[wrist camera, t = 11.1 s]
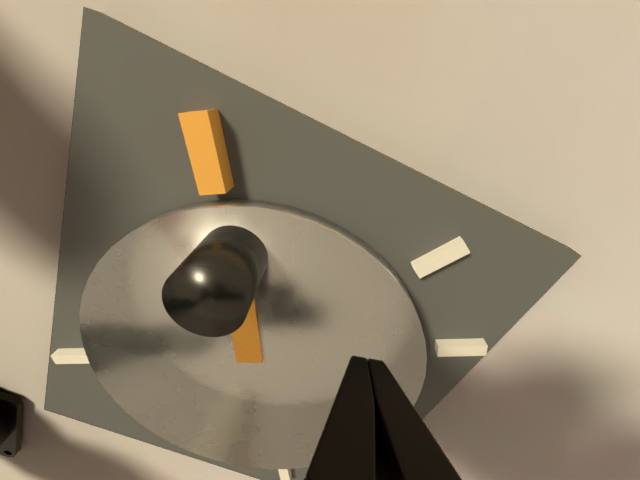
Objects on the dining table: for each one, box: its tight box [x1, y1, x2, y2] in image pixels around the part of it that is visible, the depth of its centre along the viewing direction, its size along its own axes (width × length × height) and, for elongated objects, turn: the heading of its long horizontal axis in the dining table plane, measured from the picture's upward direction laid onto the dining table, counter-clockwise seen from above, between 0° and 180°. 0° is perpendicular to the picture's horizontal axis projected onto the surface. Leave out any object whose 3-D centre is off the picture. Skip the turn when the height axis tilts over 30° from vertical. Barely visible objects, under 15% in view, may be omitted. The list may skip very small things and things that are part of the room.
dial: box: [79, 199, 427, 469], centre depth 14 cm, size 16×16×4 cm
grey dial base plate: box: [44, 7, 581, 480], centre depth 16 cm, size 22×20×2 cm
